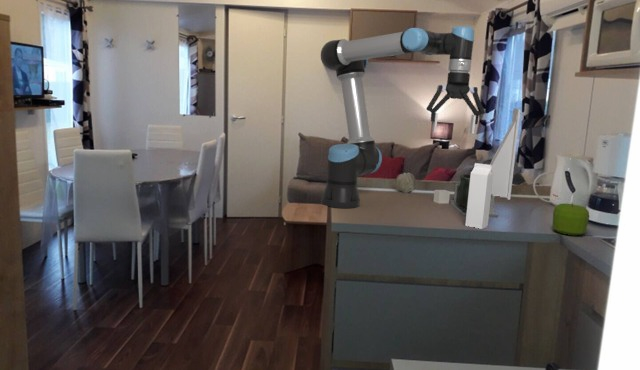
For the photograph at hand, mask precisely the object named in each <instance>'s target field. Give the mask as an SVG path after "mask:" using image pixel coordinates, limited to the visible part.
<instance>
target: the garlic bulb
mask: <svg viewBox="0 0 640 370" xmlns="http://www.w3.org/2000/svg"><path fill="white" fill-rule="evenodd" d="M393 184H394V185H395V189H396V191H398V192H401V193H406V194H407V193H411V192H412V191H413V190H414V189H415V185H416V178H415V176H414V174H412V173H410V172H403V173H399V174H398V175H397V177H396V178H395V180H394V181H393Z"/></svg>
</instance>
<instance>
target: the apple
mask: <svg viewBox="0 0 640 370" xmlns="http://www.w3.org/2000/svg"><path fill="white" fill-rule="evenodd" d="M552 214H553V215H552V225H551V226H552V227H551V228H552V229H554V230H555V231H556V232H558V233H559V234H561V233H562V235H566V234H568V236H579V235H582V234H586V232H587V228H588V223H589V219H590V212H589V210H588V209H587V208H586V207H585V206H583V205H577V204H573V203H560V204H557V205H556V206H554V209H553V213H552Z"/></svg>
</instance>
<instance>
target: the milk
mask: <svg viewBox="0 0 640 370" xmlns="http://www.w3.org/2000/svg"><path fill="white" fill-rule="evenodd" d="M491 168H492V166H491V165H490V164H485V163H478V162H475V163H474V167H473V169H472V171H470V174H469V175H470V185H469V194H468V204H467V214H466V216H465V227H468V226H469V227H468V228H473V227H475V228H474V229H478V228H479V230H483V229H485V228H487V227H488V226H489V219H490V217H489V210H490V201H491V192H492V183H493V172H492V170H491Z"/></svg>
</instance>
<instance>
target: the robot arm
mask: <svg viewBox="0 0 640 370" xmlns="http://www.w3.org/2000/svg"><path fill="white" fill-rule="evenodd" d="M474 39H475V30H474V28H473V27H472V26H467V25H466V26H464V25H457V26H454V27H452V30H451V32H447V33H446V32H434V31H431V30H426V29H422V28H420V27H410V28H408V29H407V30H405V31H400V32H394V33H388V34H383V35H376V36H375V35H374V36H371V37H364V38H358V39H353V40H348V39H345V38H343V39H335V40H333V39H332V40H329V41H328V42H326V43H325V44H324V45H323V46H322V48H321V50H320V60H321V62H322V64H323V65H324V66H325V67H326V68H327V70H331V71H335V73H336V79H337V80H338V81H339V82H340V83H341V89H342V98H343V102H344V103H343V104H344V112H345V118H346V119H345V120H346V125H347V131H348V141H347V143H343V144H341V143H340V144H339V143H338V144H335V145H332V146H331V147H330V148H329V149H328V155H327V159H328V160H327V175H326V179H327V181H326V186H325V188H324V191H323V193H322V197H321V204H322V205H323V206H327V207H330V208H337V209H352V208H353V209H354V208H358V207H360V204H361V198H360V195H359V189H358V186H357V185H358V184H357V181H358V176H359V177H360V176H367V175H370V174H373V173H376V172H377V171H379V168H380V167H381V164H382V161H383V156H382V151H381V150H380V149H379V148H378V146H376V142H375V139H374V138H372V137H371V135H370V125H369V120H368V111H367V107H366V106H367V105H366V98H365V91H364V84H363V83H364V82H363V78H364V77H365V75H366V72H365V71H366V68H367V65H368V63H369V60H370V59H377V58H384V57H390V56H391V57H392V56H397V55H403V54H404V55H405V54H414V53H420V54H422V55H425V56H426V55H427V56H432V55H433V56H434V55H435V56H436V55H437V56H438V55H440V56H445V55H446V56H448V55H449V60H448V62H449V63H448V71H449V72H448V73H447V80H446V85H442V84H439V85H437V88H436V92H435V93H434V94H433V97H432V99H430V101H429V103H428V105H427V106H426V108H425V109H426V111H428V112H430V122H431V123H432V129H431V130H432V132H434V133H435V132H437V126H438V117H439V115H438V114H439V113H438V111H439V109H441V107H442V106H443V105H445V104H446V102H447V101H449V100H450V99H453V100H454V99H455V100H456V99H457V100H463V101H464V102H465V103H466V105H467V106H468V108H469V109H470V111H471V112H472V115H471V117H470V118H471V119H470V125H469V134H475V126H476V125H478V123H479V116H480V115H482V114H483V115H484V114H485V109H484V107H483V104H482V101H481V98H480V96H479V93H478V91H479V90H478V87H477V86H472V87H470V85H469V84H470V77H471V76H470V75H471V74H470V73H469V72H471V67H472V65H471V64H472V59H473V58H472V57H473V49H474V48H473V47H474V41H475V40H474ZM444 91H445V92H446V94H445V95H444V96H443V97H442V99H441V100H439V97H440V96H441V94H442V92H444ZM469 92H470V93H471V94H472V97H473V100H474V103H475V105H476V106H475V105H474V103H473V102H472V101H471V98H470V97H469V96H468V94H469ZM437 100H439V102H438V103H436V102H437ZM435 104H436V105H435Z"/></svg>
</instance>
